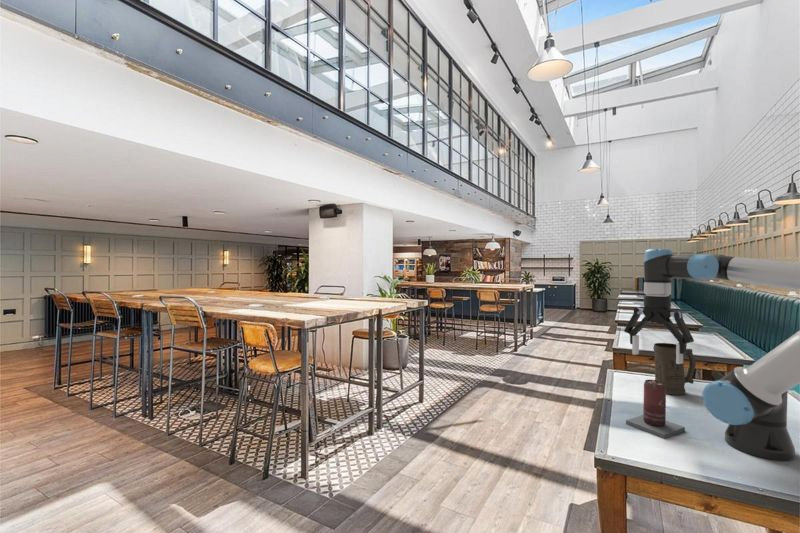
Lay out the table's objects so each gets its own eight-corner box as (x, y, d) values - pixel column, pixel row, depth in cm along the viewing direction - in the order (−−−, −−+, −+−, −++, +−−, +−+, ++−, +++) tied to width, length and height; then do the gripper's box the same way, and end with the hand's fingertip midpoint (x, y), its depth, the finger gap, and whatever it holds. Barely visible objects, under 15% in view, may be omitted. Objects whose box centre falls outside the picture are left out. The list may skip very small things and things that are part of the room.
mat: (684, 430, 122) (684, 427, 122) (664, 438, 117) (664, 434, 117) (646, 417, 133) (646, 413, 133) (625, 423, 127) (626, 420, 127)
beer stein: (663, 395, 154) (664, 347, 154) (647, 386, 165) (647, 341, 165) (701, 396, 154) (702, 348, 153) (683, 387, 164) (683, 342, 164)
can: (658, 419, 128) (658, 379, 128) (669, 427, 122) (670, 385, 121) (639, 418, 129) (640, 378, 128) (649, 426, 122) (650, 384, 122)
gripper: (707, 297, 115) (706, 366, 116) (626, 292, 137) (625, 349, 137) (695, 299, 112) (694, 369, 112) (613, 292, 134) (613, 351, 134)
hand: (656, 358), depth 125 cm, fingers open, 13 cm apart
